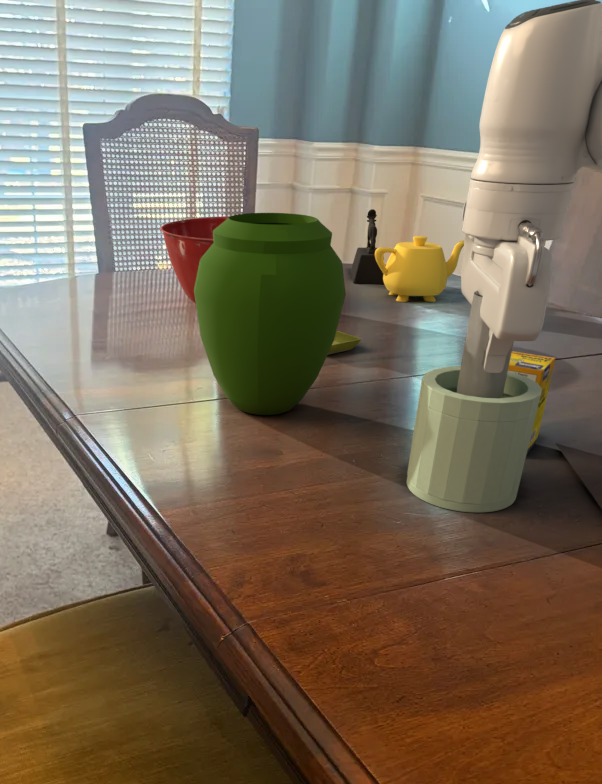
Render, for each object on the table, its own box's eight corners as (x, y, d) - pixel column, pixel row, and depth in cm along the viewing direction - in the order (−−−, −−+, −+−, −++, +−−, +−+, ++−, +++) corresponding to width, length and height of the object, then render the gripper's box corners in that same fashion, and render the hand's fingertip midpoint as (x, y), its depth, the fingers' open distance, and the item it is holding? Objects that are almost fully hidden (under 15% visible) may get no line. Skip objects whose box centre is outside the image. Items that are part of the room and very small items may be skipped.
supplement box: (536, 443, 96) (557, 356, 91) (524, 459, 92) (545, 369, 86) (488, 432, 99) (505, 348, 94) (474, 447, 95) (491, 360, 89)
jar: (503, 469, 89) (526, 368, 83) (527, 516, 79) (555, 405, 73) (401, 463, 90) (416, 363, 85) (412, 509, 81) (430, 399, 75)
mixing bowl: (249, 331, 142) (253, 242, 134) (133, 308, 157) (130, 227, 149) (324, 303, 161) (331, 224, 154) (214, 285, 176) (216, 212, 168)
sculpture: (382, 273, 189) (390, 207, 182) (385, 284, 178) (394, 214, 170) (350, 272, 190) (356, 206, 183) (351, 283, 179) (358, 213, 171)
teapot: (471, 304, 161) (482, 241, 155) (377, 304, 161) (384, 241, 154) (450, 290, 173) (460, 231, 167) (362, 290, 172) (369, 231, 166)
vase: (362, 407, 107) (384, 219, 95) (270, 444, 95) (282, 235, 83) (257, 375, 119) (265, 205, 107) (164, 405, 107) (161, 217, 95)
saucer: (323, 359, 127) (324, 346, 126) (289, 346, 133) (290, 334, 132) (361, 351, 131) (363, 338, 130) (327, 339, 137) (328, 327, 136)
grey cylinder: (504, 392, 80) (525, 291, 75) (499, 406, 77) (521, 300, 72) (459, 386, 82) (477, 287, 77) (452, 399, 78) (471, 295, 73)
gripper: (584, 232, 62) (545, 397, 69) (524, 202, 79) (497, 336, 86) (503, 230, 62) (472, 394, 69) (461, 201, 80) (439, 334, 87)
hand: (485, 362), depth 78 cm, fingers closed on grey cylinder, 4 cm apart
